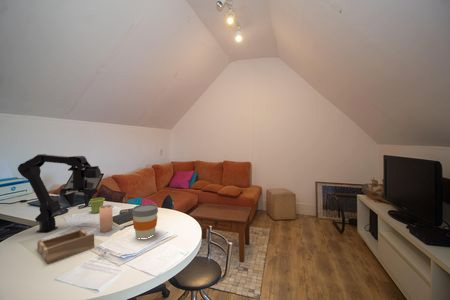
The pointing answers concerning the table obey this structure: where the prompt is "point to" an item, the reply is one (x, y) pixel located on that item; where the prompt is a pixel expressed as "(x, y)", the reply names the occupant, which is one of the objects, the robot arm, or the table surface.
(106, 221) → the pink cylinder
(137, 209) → the reusable coffee cup
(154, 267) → the table surface
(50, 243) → the open wooden box
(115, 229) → the grey mat
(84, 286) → the table surface
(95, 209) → the plant pot
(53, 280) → the table surface
